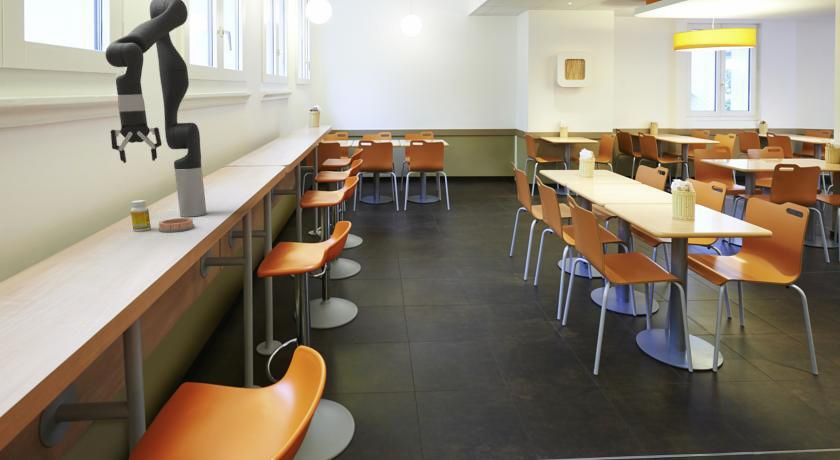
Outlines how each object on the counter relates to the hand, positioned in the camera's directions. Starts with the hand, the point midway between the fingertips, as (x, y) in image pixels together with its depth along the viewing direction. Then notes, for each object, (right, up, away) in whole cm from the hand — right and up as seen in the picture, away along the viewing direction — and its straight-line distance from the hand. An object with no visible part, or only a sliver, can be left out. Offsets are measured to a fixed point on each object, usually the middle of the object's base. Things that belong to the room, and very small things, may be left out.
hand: (139, 161), depth 199 cm
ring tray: (+10, -21, +6) cm, 24 cm away
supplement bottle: (-2, -22, +7) cm, 23 cm away
